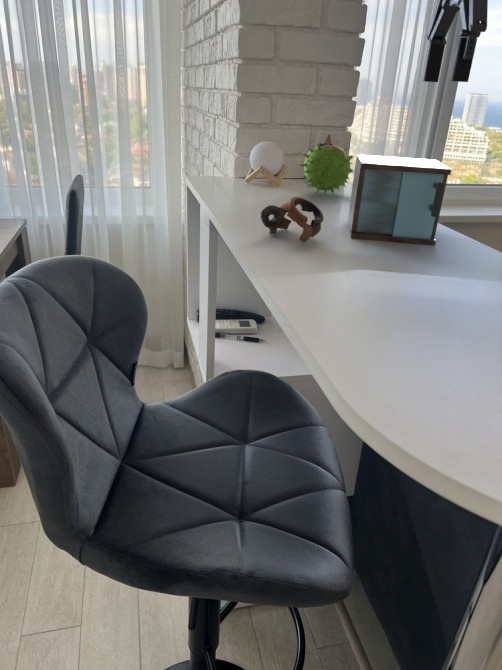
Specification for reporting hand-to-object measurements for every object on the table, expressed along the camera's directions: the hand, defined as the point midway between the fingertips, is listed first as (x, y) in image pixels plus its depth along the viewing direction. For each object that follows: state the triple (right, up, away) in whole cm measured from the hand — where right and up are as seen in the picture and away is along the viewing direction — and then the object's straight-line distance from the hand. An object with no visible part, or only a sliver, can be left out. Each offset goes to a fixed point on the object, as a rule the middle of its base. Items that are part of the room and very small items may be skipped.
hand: (443, 82), depth 93 cm
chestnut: (-16, -8, +45) cm, 48 cm away
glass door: (-5, -29, +2) cm, 29 cm away
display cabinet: (-7, -26, +11) cm, 29 cm away
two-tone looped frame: (-29, -28, +4) cm, 40 cm away
